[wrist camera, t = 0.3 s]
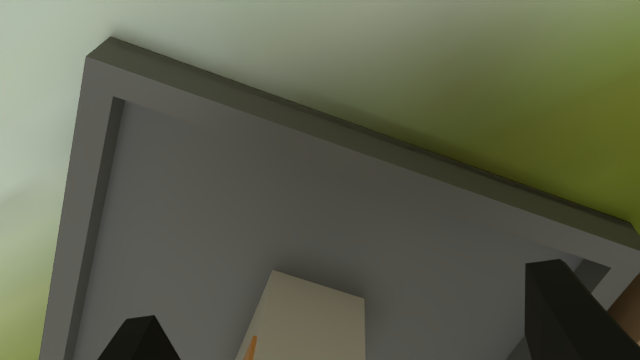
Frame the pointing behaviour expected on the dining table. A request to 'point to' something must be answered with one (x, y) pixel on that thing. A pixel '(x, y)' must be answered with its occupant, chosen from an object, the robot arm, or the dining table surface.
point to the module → (304, 323)
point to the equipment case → (293, 223)
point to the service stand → (628, 310)
